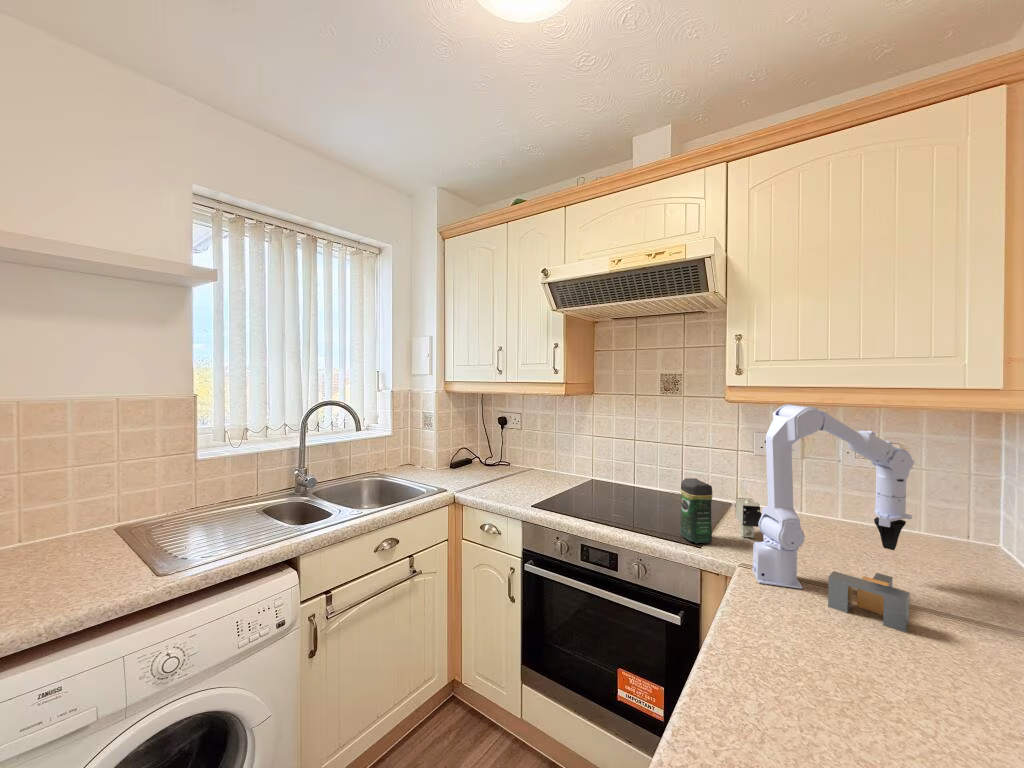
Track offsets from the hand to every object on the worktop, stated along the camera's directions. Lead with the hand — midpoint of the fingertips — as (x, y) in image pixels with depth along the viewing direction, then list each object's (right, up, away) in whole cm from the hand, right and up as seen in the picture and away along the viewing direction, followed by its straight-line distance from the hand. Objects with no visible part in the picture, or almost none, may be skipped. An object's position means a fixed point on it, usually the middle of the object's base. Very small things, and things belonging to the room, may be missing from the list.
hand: (889, 548), depth 110 cm
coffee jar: (-37, -8, +27) cm, 46 cm away
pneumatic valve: (-19, -7, +30) cm, 36 cm away
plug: (-10, -8, -8) cm, 15 cm away
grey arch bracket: (-18, -9, -16) cm, 25 cm away
